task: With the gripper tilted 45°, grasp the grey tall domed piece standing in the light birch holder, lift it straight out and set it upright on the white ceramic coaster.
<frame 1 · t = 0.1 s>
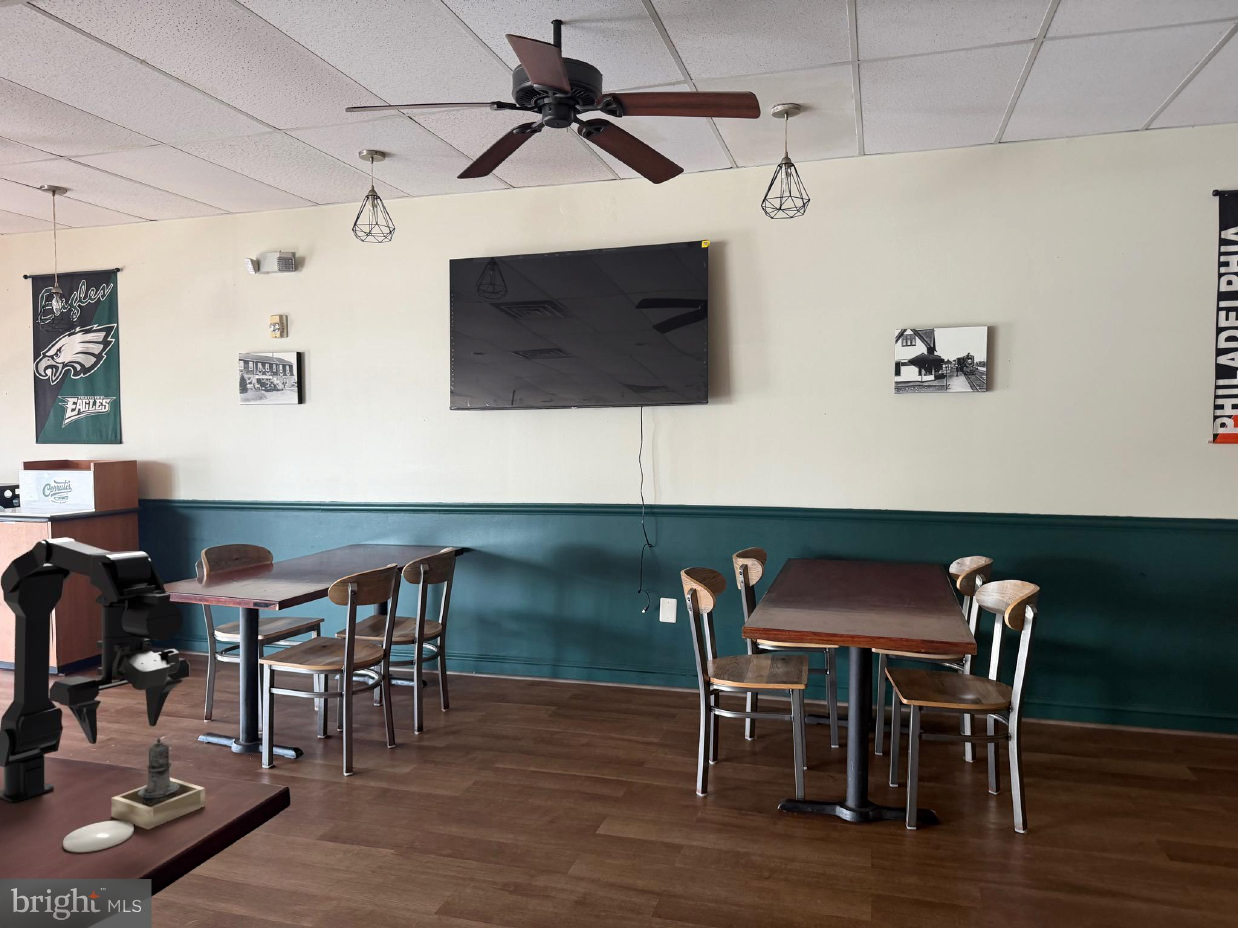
hand: (123, 734, 126), 15 cm above the table, tool pointing down, fingers open, 9 cm apart
grey tall domed piece: (158, 812, 133), resting in birch holder
coaster: (99, 837, 123), on the table
birch holder: (158, 810, 133), on the table
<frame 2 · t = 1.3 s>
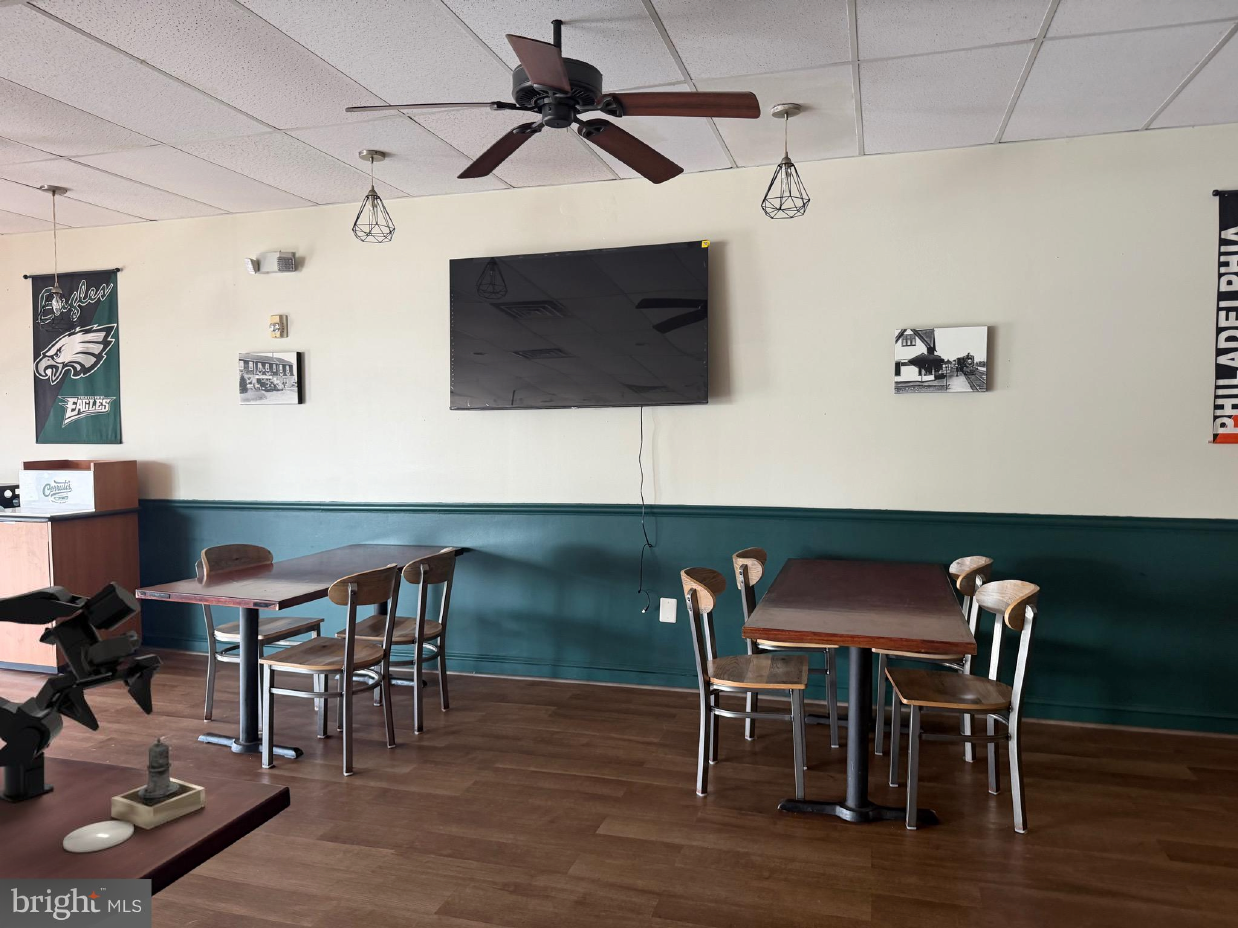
hand: (124, 720, 136), 14 cm above the table, tool tilted 45°, fingers open, 9 cm apart
nothing on the table moved.
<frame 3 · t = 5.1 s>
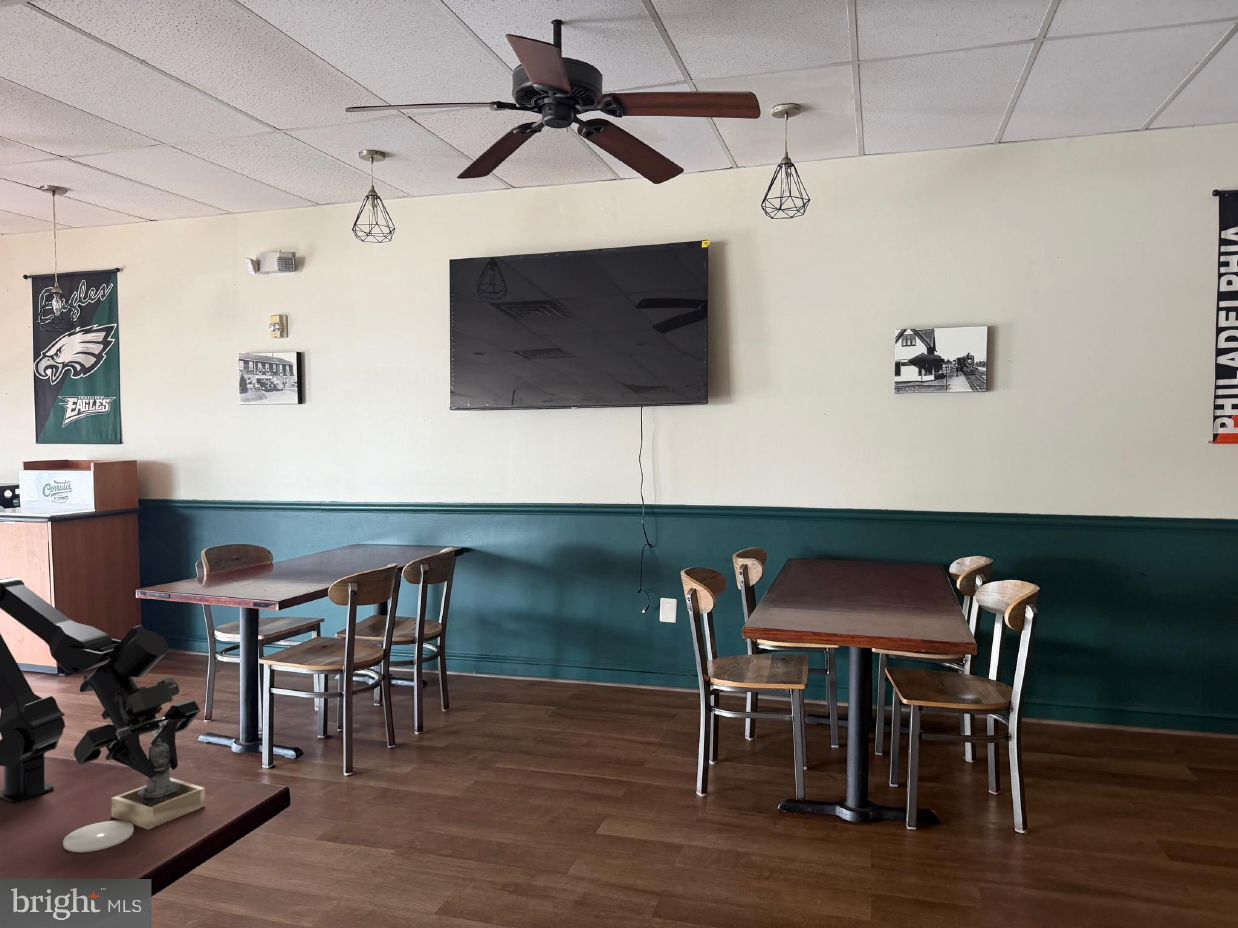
hand: (164, 772, 132), 7 cm above the table, tool tilted 45°, fingers closed on grey tall domed piece, 4 cm apart
grey tall domed piece: (158, 812, 133), resting in birch holder, touching gripper
when the fingers open (8 cm above the table, at t = 8.7 s): grey tall domed piece stays where it is, resting on coaster.
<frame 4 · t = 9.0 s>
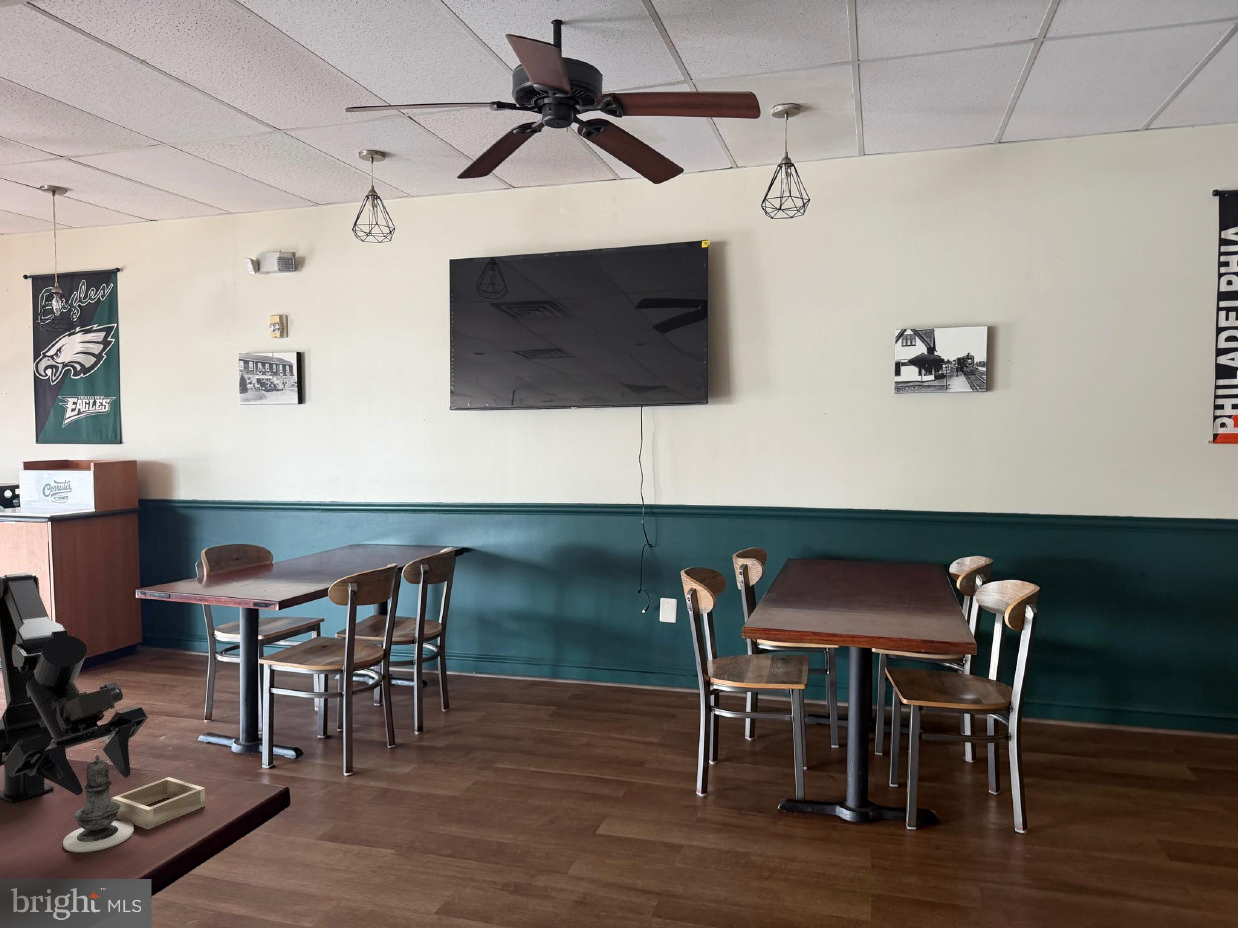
hand: (104, 784, 123), 8 cm above the table, tool tilted 45°, fingers open, 7 cm apart
grey tall domed piece: (97, 834, 123), resting on coaster
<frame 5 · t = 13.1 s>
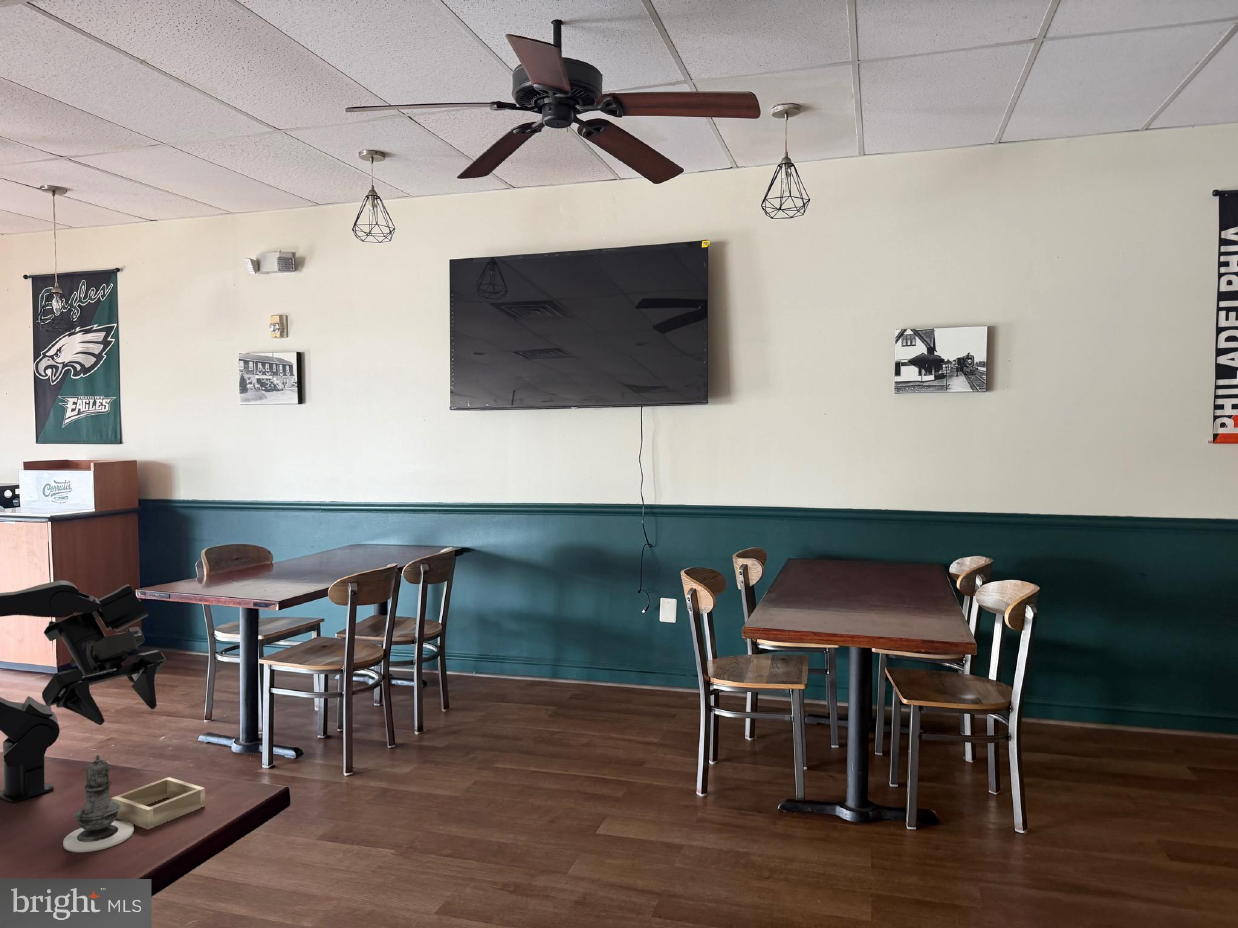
hand: (129, 715, 139), 14 cm above the table, tool tilted 45°, fingers open, 9 cm apart
nothing on the table moved.
at the end: grey tall domed piece 0.2 cm off-centre on the coaster, point 0.4 cm above the coaster's base; grey tall domed piece tilted 0°; the gripper is holding nothing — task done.
